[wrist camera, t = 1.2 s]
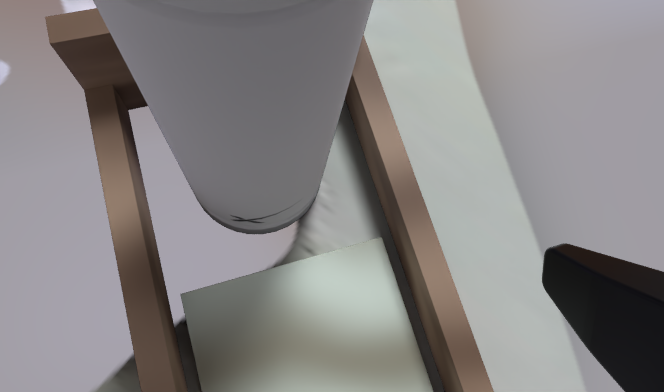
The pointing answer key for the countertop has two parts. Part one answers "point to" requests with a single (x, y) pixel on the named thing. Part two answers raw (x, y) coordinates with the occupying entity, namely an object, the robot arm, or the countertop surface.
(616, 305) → the robot arm
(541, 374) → the countertop surface
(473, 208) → the countertop surface
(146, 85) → the travel mug
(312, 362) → the shelf lane
